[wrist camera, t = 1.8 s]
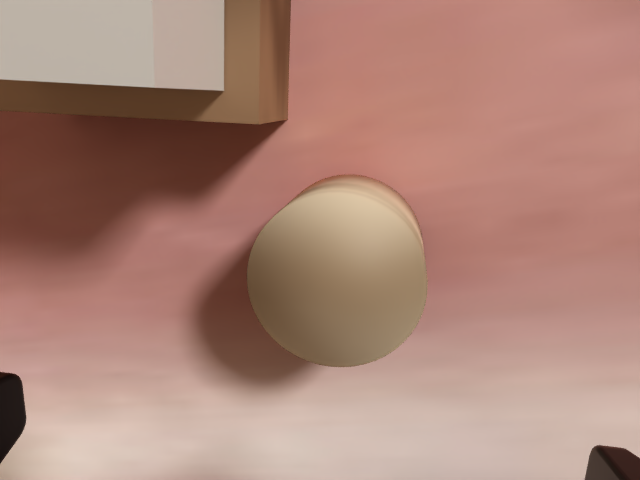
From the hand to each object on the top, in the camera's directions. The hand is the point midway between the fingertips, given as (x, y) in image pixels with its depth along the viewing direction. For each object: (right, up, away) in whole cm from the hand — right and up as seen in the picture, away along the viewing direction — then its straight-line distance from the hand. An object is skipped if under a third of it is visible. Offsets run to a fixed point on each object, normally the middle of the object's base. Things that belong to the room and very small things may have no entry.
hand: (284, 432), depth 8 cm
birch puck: (+2, +3, +10) cm, 11 cm away
